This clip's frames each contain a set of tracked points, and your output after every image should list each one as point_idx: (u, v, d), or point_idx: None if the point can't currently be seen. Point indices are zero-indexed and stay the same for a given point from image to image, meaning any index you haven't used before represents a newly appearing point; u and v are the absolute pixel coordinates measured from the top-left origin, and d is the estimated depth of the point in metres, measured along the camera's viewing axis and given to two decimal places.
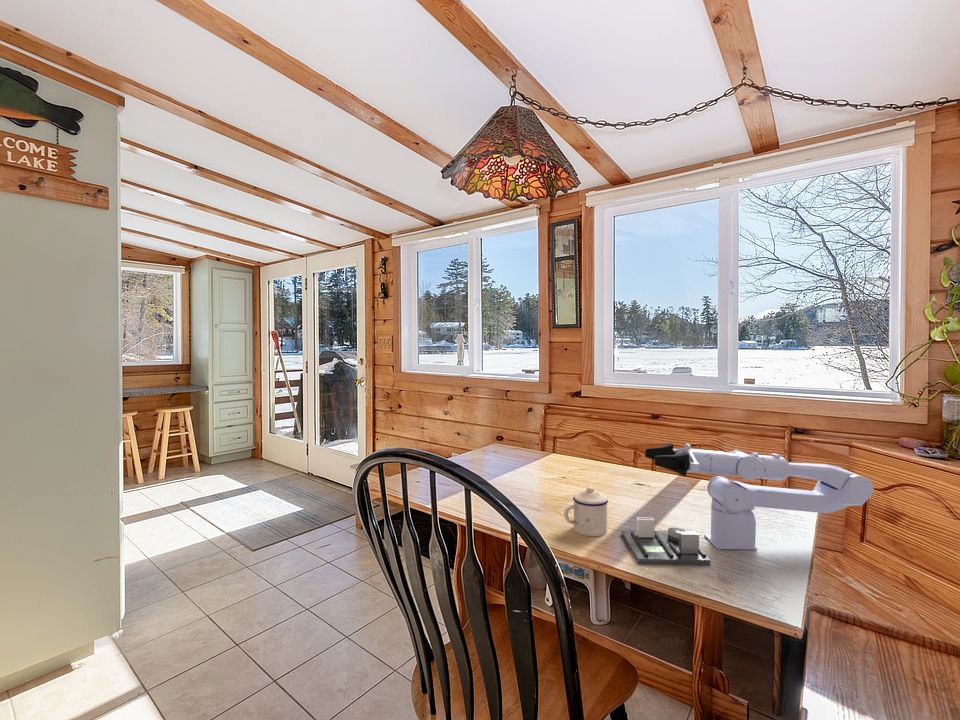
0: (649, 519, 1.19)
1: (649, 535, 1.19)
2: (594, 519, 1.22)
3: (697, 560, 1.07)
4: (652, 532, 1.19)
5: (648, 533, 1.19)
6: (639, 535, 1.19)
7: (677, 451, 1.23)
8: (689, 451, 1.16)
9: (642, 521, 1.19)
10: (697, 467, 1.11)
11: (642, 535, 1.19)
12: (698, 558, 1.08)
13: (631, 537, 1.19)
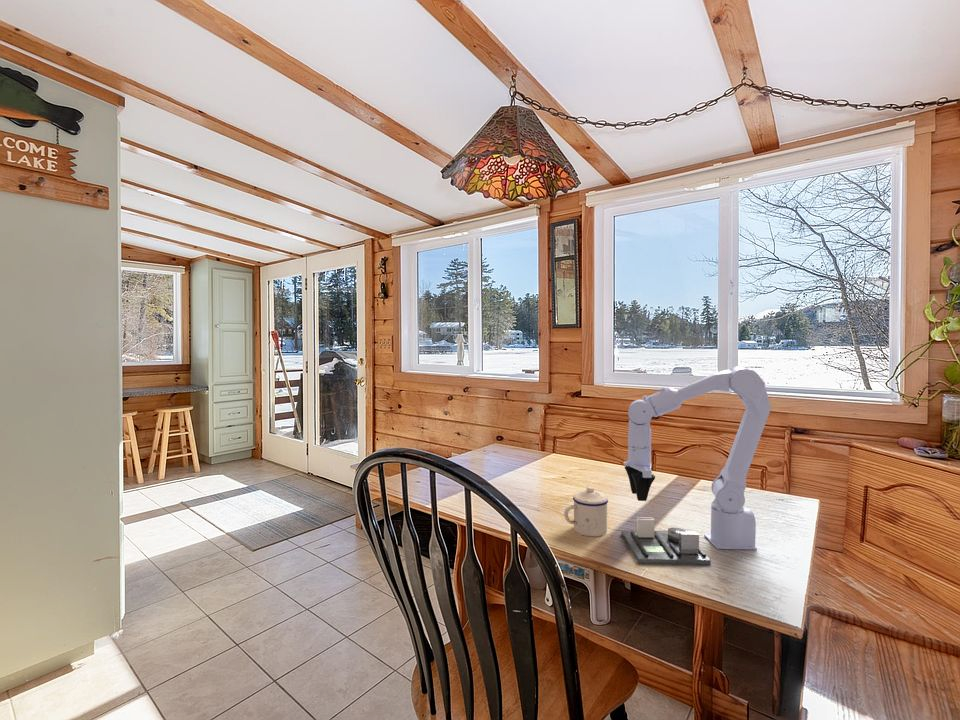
0: (649, 519, 1.19)
1: (649, 535, 1.19)
2: (594, 519, 1.22)
3: (697, 560, 1.07)
4: (652, 532, 1.19)
5: (648, 533, 1.19)
6: (639, 535, 1.19)
7: None
8: (631, 466, 1.23)
9: (642, 521, 1.19)
10: (647, 472, 1.17)
11: (642, 535, 1.19)
12: (698, 558, 1.08)
13: (631, 537, 1.19)
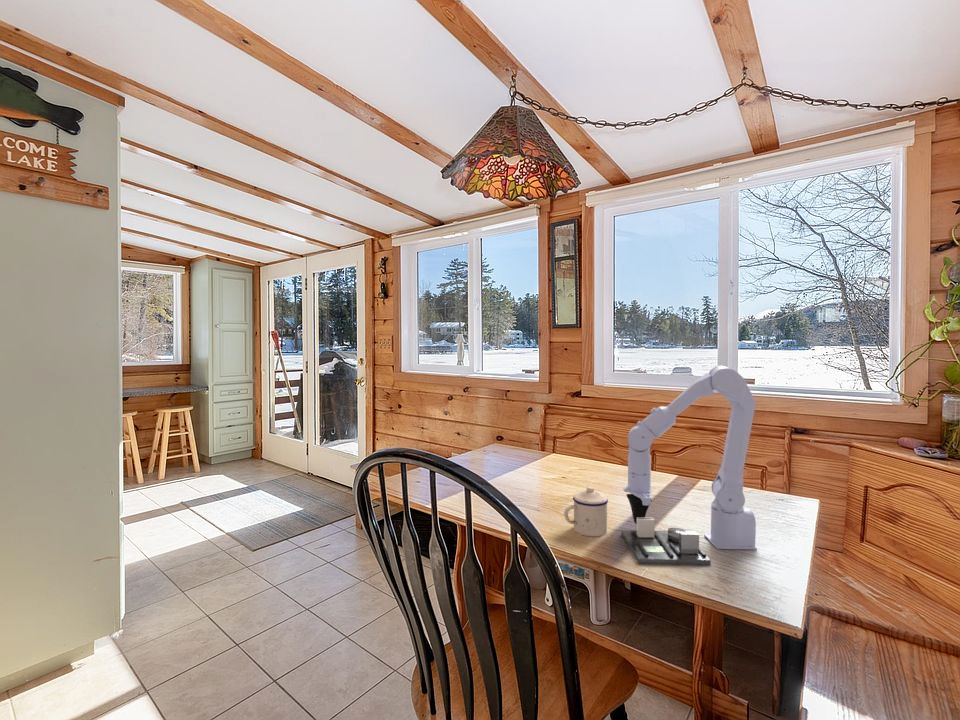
0: (649, 519, 1.19)
1: (649, 535, 1.19)
2: (594, 519, 1.22)
3: (697, 560, 1.07)
4: (652, 532, 1.19)
5: (648, 533, 1.19)
6: (639, 535, 1.19)
7: None
8: (631, 492, 1.23)
9: (642, 521, 1.19)
10: (646, 499, 1.18)
11: (642, 535, 1.19)
12: (698, 558, 1.08)
13: (631, 537, 1.19)
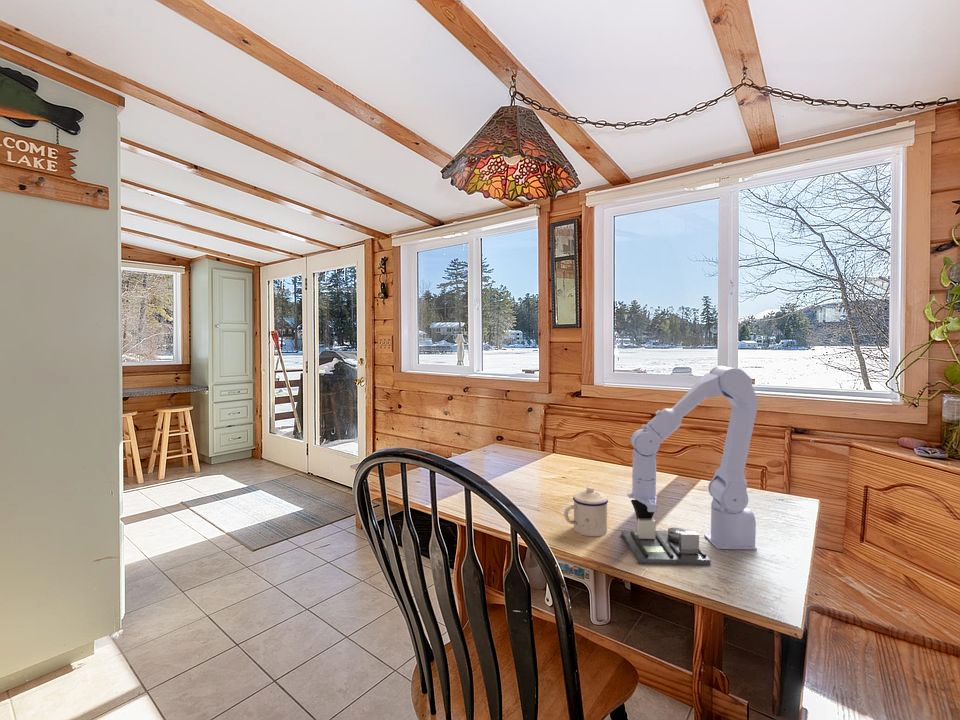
0: (650, 520, 1.18)
1: (650, 536, 1.18)
2: (594, 519, 1.22)
3: (697, 560, 1.07)
4: (653, 533, 1.18)
5: (649, 534, 1.18)
6: (640, 536, 1.18)
7: None
8: (635, 498, 1.19)
9: (643, 522, 1.18)
10: (652, 506, 1.13)
11: (643, 536, 1.18)
12: (698, 558, 1.08)
13: (631, 537, 1.19)
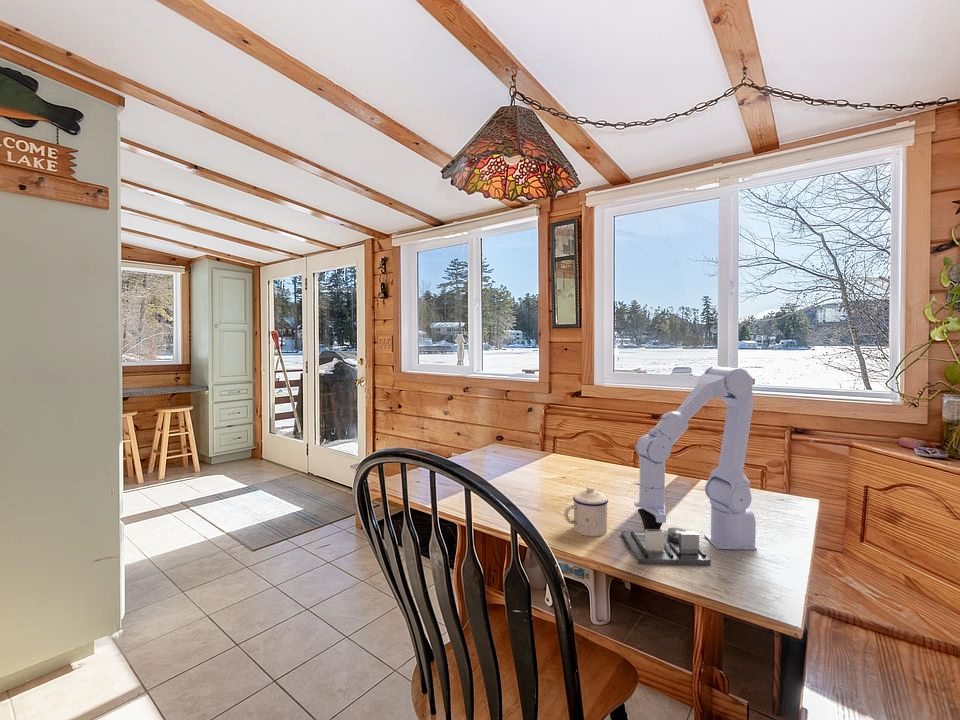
0: (658, 531, 1.11)
1: (658, 548, 1.11)
2: (594, 519, 1.22)
3: (697, 560, 1.07)
4: (662, 545, 1.11)
5: (657, 546, 1.11)
6: (648, 548, 1.12)
7: None
8: (643, 507, 1.12)
9: (651, 533, 1.11)
10: (661, 516, 1.07)
11: (651, 548, 1.11)
12: (698, 558, 1.08)
13: (631, 537, 1.19)
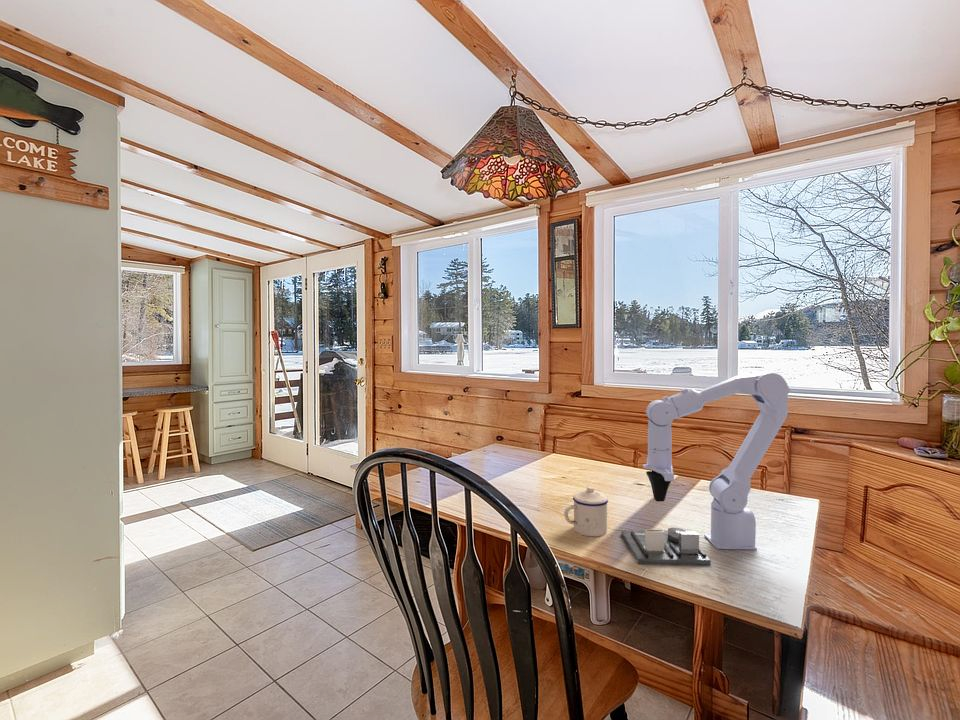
0: (659, 531, 1.11)
1: (658, 548, 1.11)
2: (594, 519, 1.22)
3: (697, 560, 1.07)
4: (662, 545, 1.11)
5: (658, 546, 1.11)
6: (648, 548, 1.11)
7: None
8: (651, 468, 1.19)
9: (651, 533, 1.11)
10: (669, 475, 1.13)
11: (651, 548, 1.11)
12: (698, 558, 1.08)
13: (631, 537, 1.19)
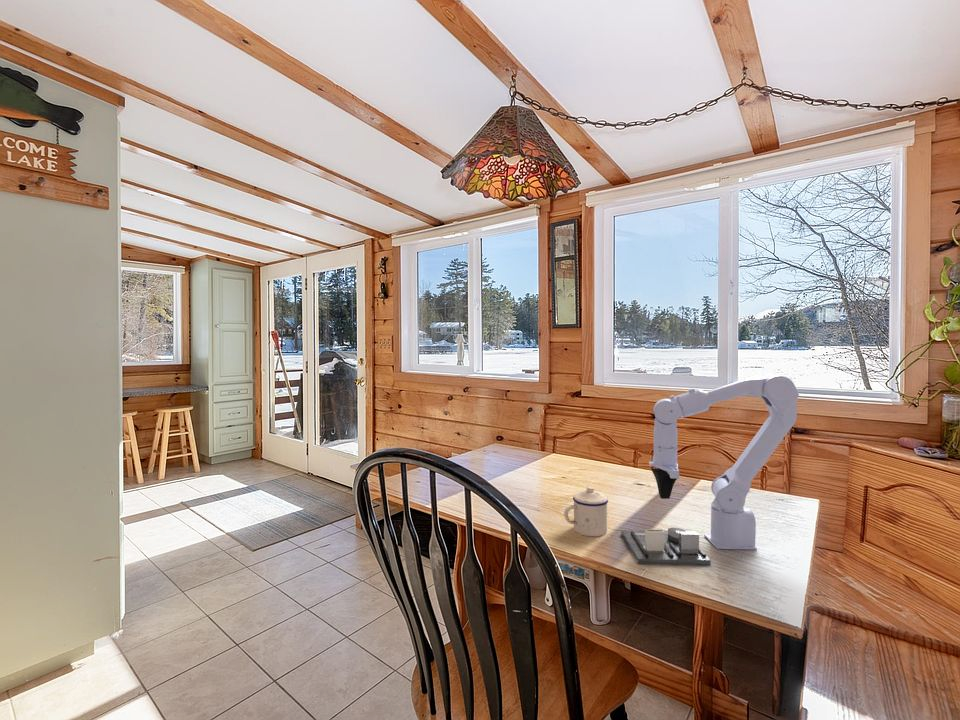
0: (659, 531, 1.11)
1: (658, 548, 1.11)
2: (594, 519, 1.22)
3: (697, 560, 1.07)
4: (662, 545, 1.11)
5: (658, 546, 1.11)
6: (648, 548, 1.11)
7: None
8: (657, 466, 1.21)
9: (651, 533, 1.11)
10: (674, 472, 1.15)
11: (651, 548, 1.11)
12: (698, 558, 1.08)
13: (631, 537, 1.19)
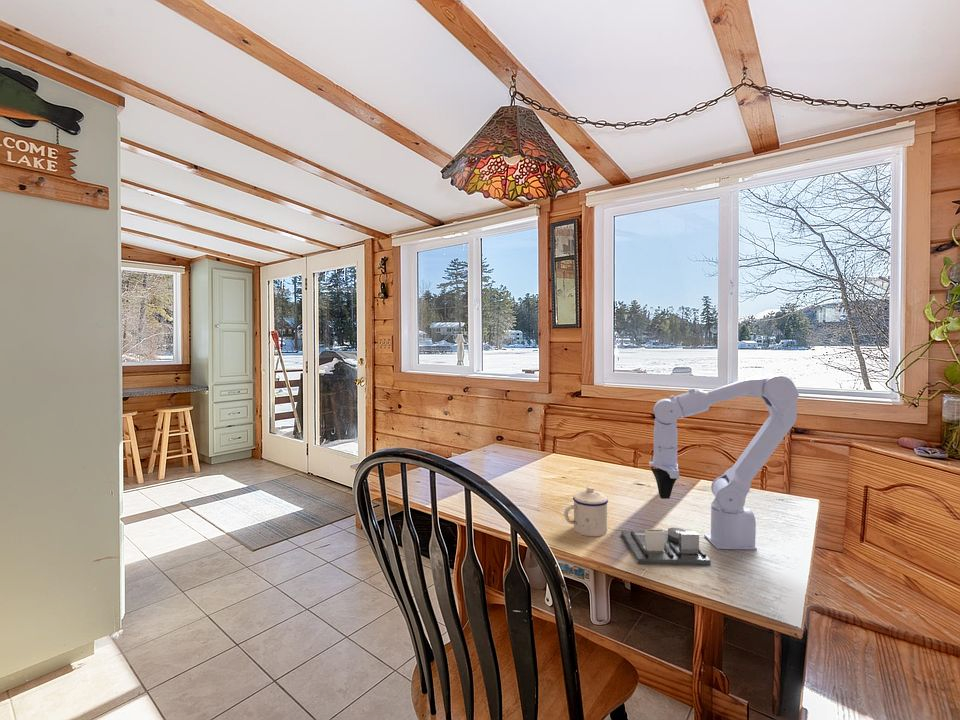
0: (659, 531, 1.11)
1: (658, 548, 1.11)
2: (594, 519, 1.22)
3: (697, 560, 1.07)
4: (662, 545, 1.11)
5: (658, 546, 1.11)
6: (648, 548, 1.11)
7: None
8: (657, 466, 1.21)
9: (651, 533, 1.11)
10: (674, 472, 1.15)
11: (651, 548, 1.11)
12: (698, 558, 1.08)
13: (631, 537, 1.19)
